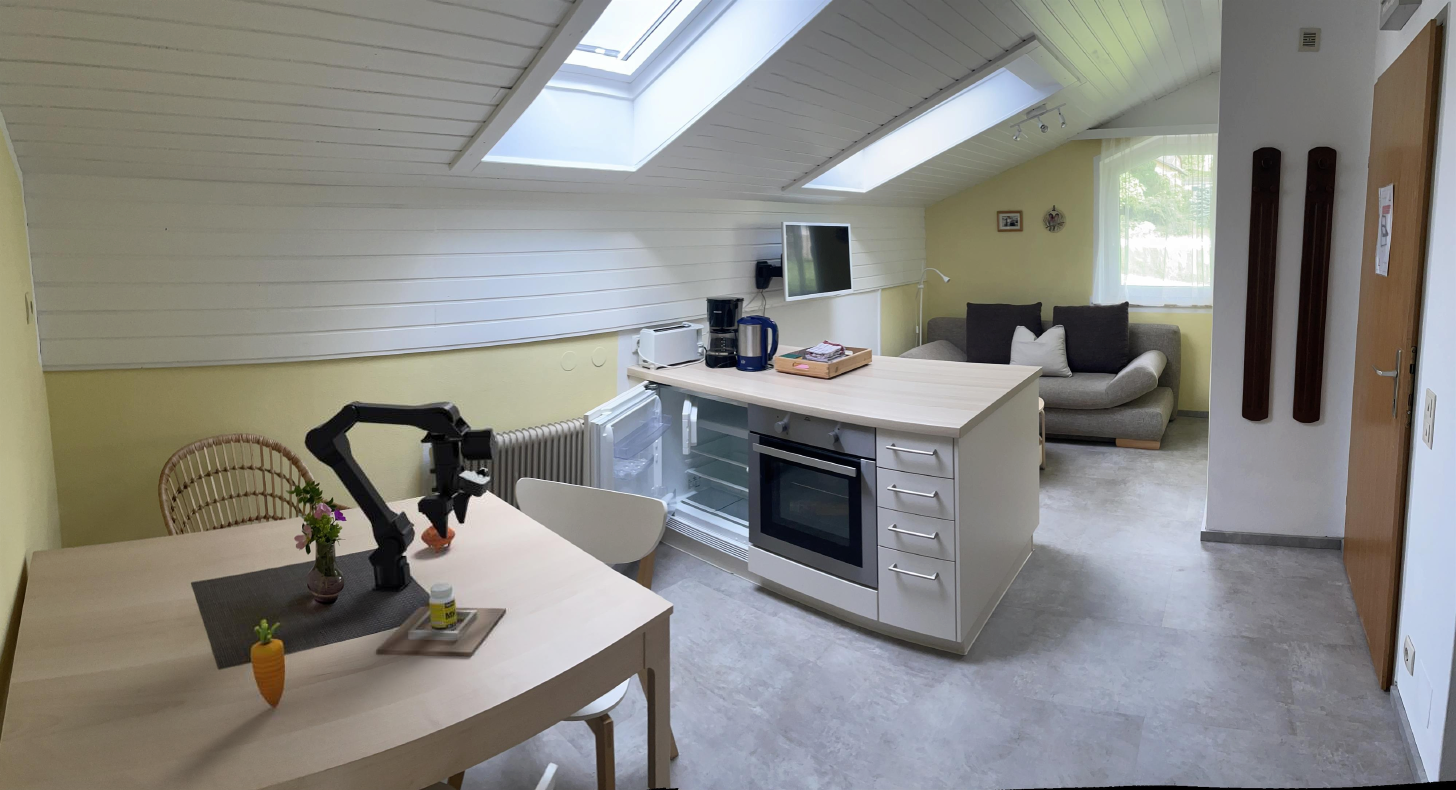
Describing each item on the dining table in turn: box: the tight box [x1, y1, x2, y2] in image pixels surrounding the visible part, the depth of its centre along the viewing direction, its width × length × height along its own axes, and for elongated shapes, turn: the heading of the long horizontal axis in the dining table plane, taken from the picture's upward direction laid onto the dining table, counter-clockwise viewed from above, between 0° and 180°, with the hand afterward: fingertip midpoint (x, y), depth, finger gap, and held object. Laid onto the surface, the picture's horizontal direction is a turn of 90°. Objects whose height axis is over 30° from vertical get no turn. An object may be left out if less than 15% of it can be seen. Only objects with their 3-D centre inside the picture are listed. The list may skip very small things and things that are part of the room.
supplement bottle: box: [428, 582, 457, 631], centre depth 161 cm, size 5×5×8 cm
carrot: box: [250, 619, 286, 708], centre depth 136 cm, size 5×5×15 cm
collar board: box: [375, 606, 507, 657], centre depth 162 cm, size 18×18×2 cm
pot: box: [420, 524, 456, 554], centre depth 206 cm, size 8×8×7 cm
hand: (453, 530), depth 183 cm, fingers open, 9 cm apart
